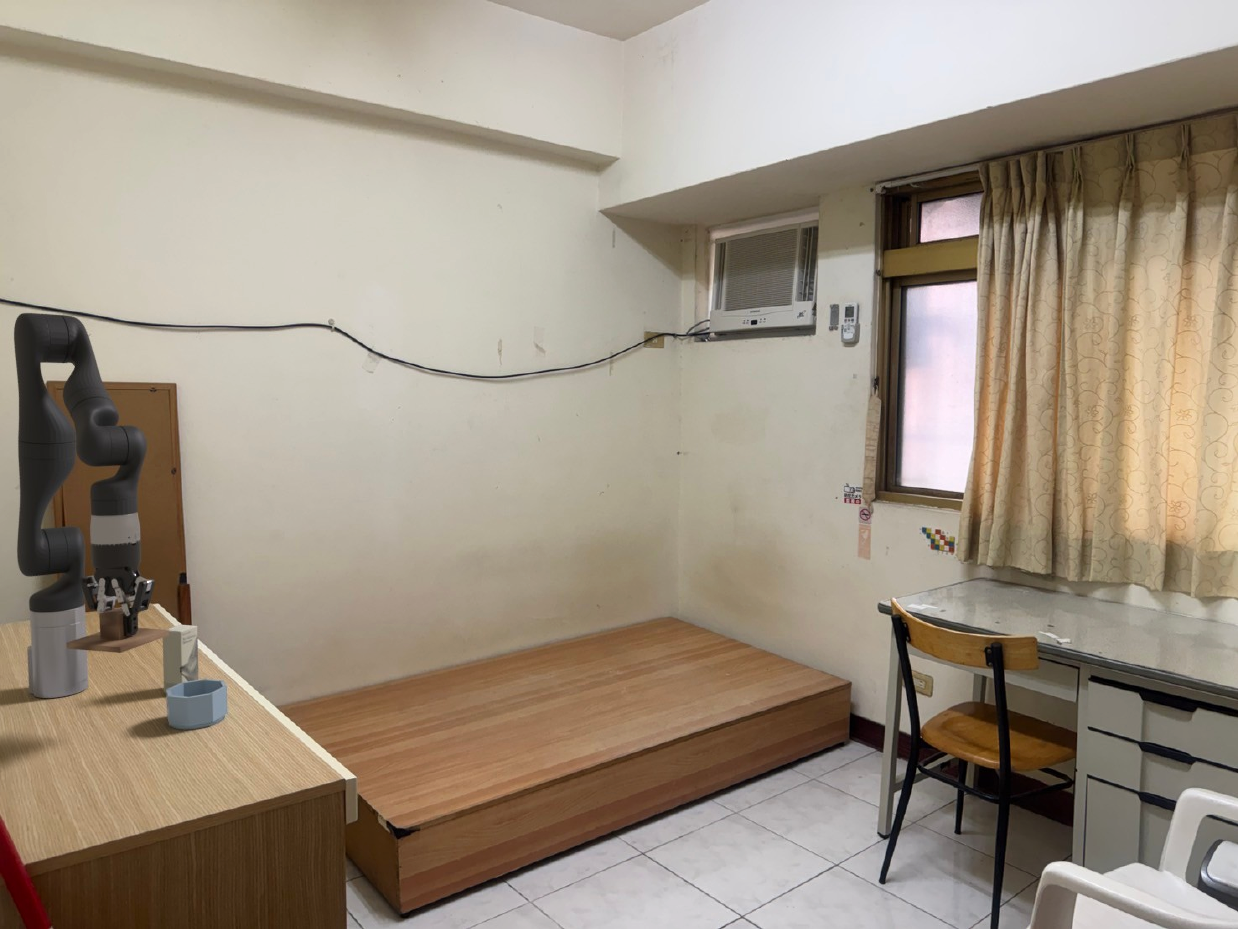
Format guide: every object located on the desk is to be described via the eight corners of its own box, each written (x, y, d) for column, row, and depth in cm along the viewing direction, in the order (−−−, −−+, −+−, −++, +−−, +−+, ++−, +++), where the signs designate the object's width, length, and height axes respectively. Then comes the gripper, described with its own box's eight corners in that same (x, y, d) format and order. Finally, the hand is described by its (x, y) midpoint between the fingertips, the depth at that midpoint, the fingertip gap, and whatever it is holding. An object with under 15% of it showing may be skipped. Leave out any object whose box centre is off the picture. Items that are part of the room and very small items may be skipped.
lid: (66, 648, 143) (65, 617, 142) (118, 631, 153) (116, 602, 153) (120, 653, 140) (119, 621, 140) (168, 635, 151) (167, 605, 151)
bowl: (155, 727, 149) (154, 695, 149) (193, 708, 159) (192, 677, 158) (202, 732, 147) (201, 699, 147) (237, 712, 157) (236, 681, 156)
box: (182, 695, 165) (180, 632, 164) (163, 693, 166) (160, 630, 165) (200, 686, 171) (198, 625, 170) (181, 684, 171) (179, 623, 170)
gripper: (63, 540, 143) (67, 637, 145) (133, 544, 140) (137, 643, 142) (99, 534, 151) (103, 626, 152) (166, 537, 148) (169, 631, 149)
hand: (119, 634), depth 147 cm, fingers closed on lid, 4 cm apart
